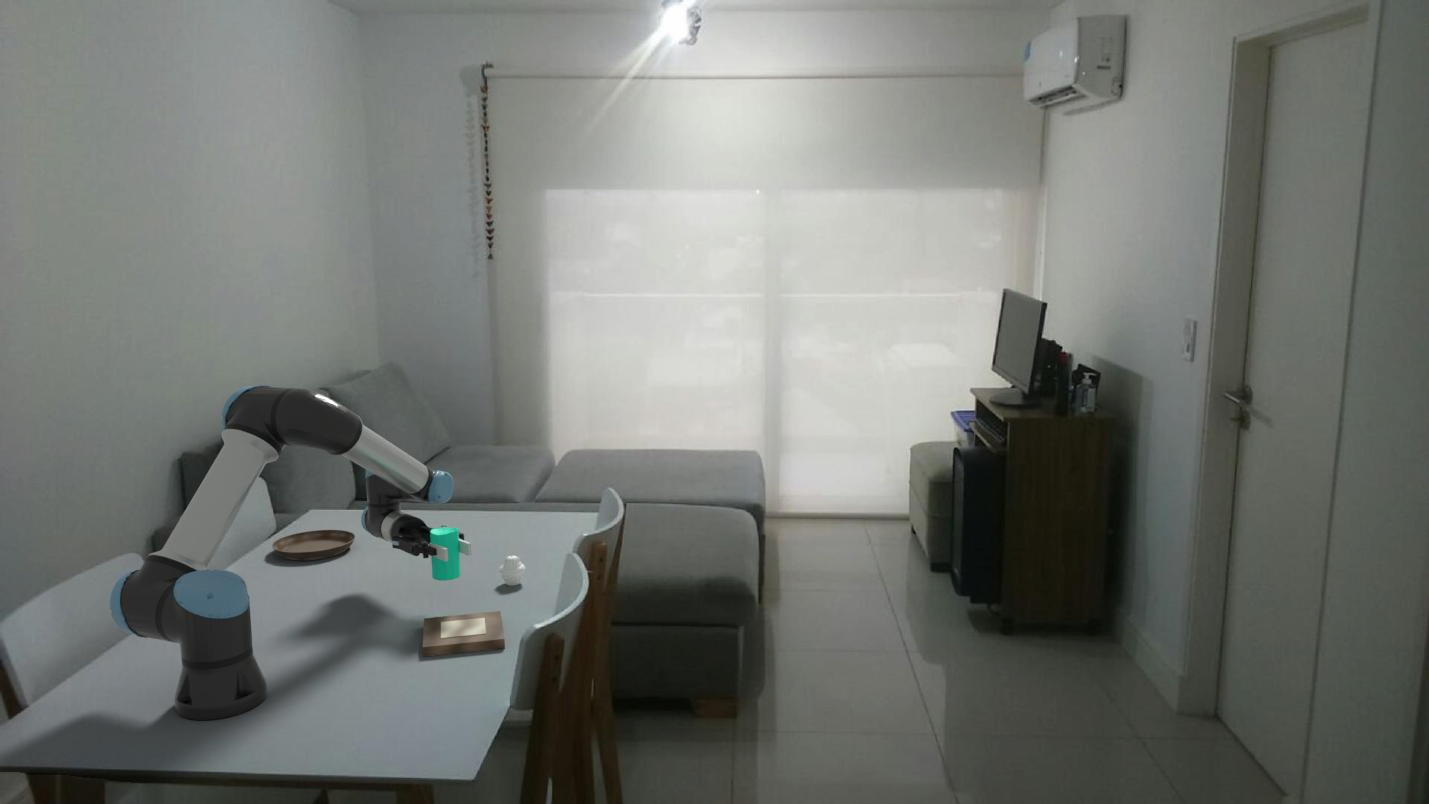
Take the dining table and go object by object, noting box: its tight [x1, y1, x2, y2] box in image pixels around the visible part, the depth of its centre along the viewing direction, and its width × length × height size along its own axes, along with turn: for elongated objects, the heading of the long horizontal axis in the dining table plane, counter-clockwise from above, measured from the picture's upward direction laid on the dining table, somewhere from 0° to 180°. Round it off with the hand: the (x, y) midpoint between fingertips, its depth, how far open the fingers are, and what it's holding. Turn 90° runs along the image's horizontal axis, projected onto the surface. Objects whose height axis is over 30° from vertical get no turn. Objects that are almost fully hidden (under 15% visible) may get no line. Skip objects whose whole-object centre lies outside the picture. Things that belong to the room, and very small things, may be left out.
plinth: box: [422, 610, 506, 657], centre depth 221 cm, size 16×16×2 cm
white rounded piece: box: [498, 555, 526, 587], centre depth 253 cm, size 6×6×7 cm
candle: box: [430, 526, 462, 582], centre depth 232 cm, size 6×6×12 cm
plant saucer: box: [271, 529, 356, 561], centre depth 280 cm, size 21×21×3 cm
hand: (457, 552), depth 228 cm, fingers closed on candle, 5 cm apart
